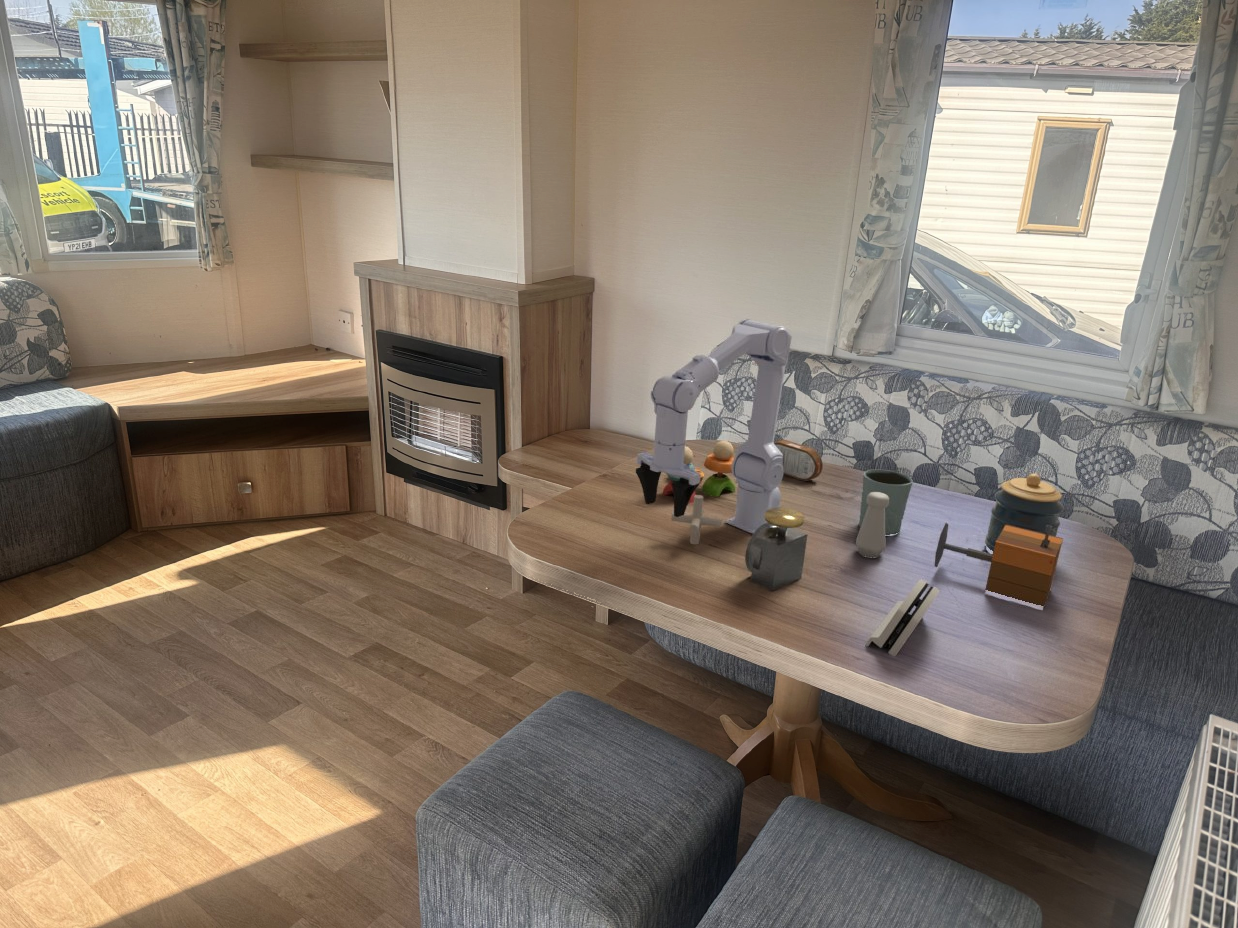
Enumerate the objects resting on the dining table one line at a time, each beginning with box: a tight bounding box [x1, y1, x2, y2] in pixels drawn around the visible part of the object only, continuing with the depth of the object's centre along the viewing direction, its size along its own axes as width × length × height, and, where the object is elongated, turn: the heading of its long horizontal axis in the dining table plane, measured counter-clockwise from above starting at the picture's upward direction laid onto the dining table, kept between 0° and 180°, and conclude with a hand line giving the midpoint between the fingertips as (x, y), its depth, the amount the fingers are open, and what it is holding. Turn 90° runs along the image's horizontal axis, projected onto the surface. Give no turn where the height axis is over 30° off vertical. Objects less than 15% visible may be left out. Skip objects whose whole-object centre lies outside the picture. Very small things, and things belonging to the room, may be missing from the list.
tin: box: [774, 439, 824, 482], centre depth 219 cm, size 15×3×8 cm, turn 46°
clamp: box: [933, 522, 1064, 607], centre depth 165 cm, size 11×20×14 cm, turn 58°
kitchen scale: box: [744, 507, 808, 592], centre depth 162 cm, size 10×8×13 cm
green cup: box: [858, 469, 914, 535], centre depth 189 cm, size 10×10×12 cm
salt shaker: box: [855, 492, 889, 559], centre depth 176 cm, size 6×6×13 cm
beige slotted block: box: [865, 578, 941, 657], centre depth 146 cm, size 17×5×10 cm, turn 147°
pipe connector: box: [670, 494, 723, 545], centre depth 176 cm, size 10×10×10 cm
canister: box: [984, 473, 1064, 552], centre depth 179 cm, size 13×13×18 cm
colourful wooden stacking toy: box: [662, 440, 736, 504], centre depth 205 cm, size 18×17×12 cm
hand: (664, 509), depth 167 cm, fingers open, 7 cm apart
